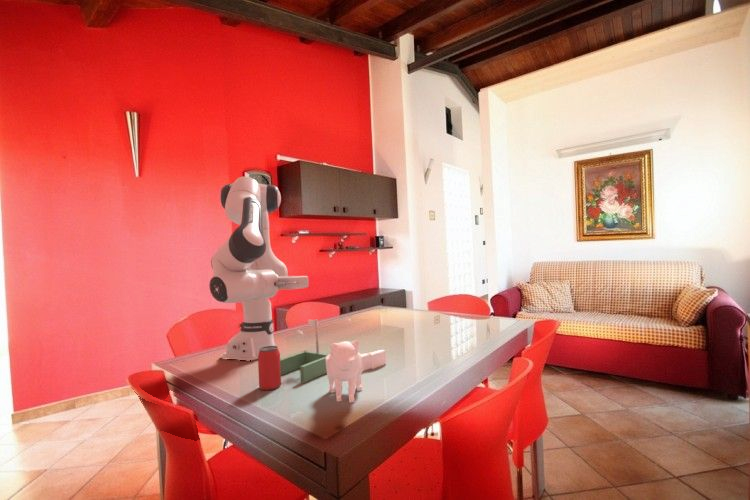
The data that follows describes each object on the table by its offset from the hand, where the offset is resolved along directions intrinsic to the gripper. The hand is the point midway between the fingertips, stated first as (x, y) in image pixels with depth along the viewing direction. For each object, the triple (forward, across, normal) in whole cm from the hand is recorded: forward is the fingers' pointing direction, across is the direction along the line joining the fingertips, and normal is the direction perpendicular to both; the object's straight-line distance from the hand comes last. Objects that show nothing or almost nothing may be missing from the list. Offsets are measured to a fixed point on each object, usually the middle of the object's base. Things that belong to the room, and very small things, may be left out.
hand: (298, 280), depth 120 cm
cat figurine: (-6, -23, +32) cm, 40 cm away
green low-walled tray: (+2, +1, +32) cm, 32 cm away
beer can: (-12, +1, +32) cm, 35 cm away
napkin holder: (+17, -15, +33) cm, 40 cm away
